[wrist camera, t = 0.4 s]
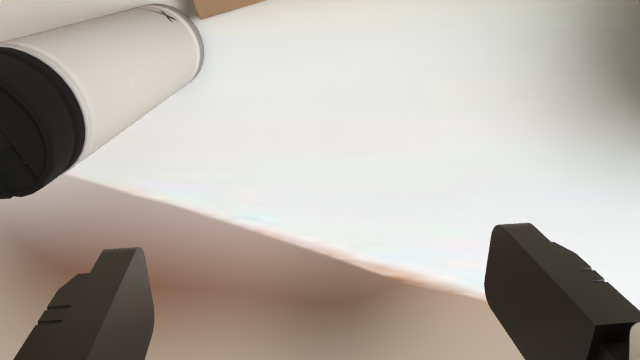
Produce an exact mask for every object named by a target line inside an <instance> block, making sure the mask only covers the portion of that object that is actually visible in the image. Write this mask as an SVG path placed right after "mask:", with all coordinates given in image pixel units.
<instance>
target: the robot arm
mask: <svg viewBox="0 0 640 360" xmlns="http://www.w3.org/2000/svg"><path fill="white" fill-rule="evenodd" d="M484 287H485V295H486V299H487V302H488V304H489V306H490V308H491V310H492V311H493V312H494V314H495V315H496V317H497V319H498V320H499V321H500V323H501V324H502V326H503V327H504V329H505V330H506V332H507V333H508V335H509V336H510V338H511V339H512V340H513V342H514V344H515V345H516V347H517V348H518V350H519V351H520V353H521V354H522V356H523V357H524V358H525V360H640V311H639V310H638V309H637V308H636V307H635V306H634V305H632V304H631V303H630V302H629V301H628V300H627V299H626V298H625V297H624V296H622V295H621V294H620V293H619V292H618V291H617V290H616V289H615V288H614V287H613V286H611V285H610V284H609V283H608V282H605V281H604V278H603V277H601V276H600V275H599V274H598V273H597V272H596V271H595V270H592V269H591V267H590V266H589V265H588V264H587V263H586V262H585V261H584V260H583V259H581V258H580V257H579V256H578V255H577V254H576V253H574V252H572V251H570V250H568V249H566V248H564V247H563V246H561V245H559V244H557V243H555V242H550V241H549V240H548V239H547V238H546V237H545V236H544V235H543V234H542V233H541V232H540V231H539V230H538V229H537V228H536V227H534V226H533V225H532V224H530V223H518V224H503V225H496V226H495V227H494V229H493V231H492V235H491V241H490V247H489V254H488V261H487V268H486V274H485V282H484ZM153 328H154V305H153V300H152V294H151V288H150V283H149V277H148V272H147V266H146V261H145V256H144V252H143V250H142V249H141V248H140V247H133V248H119V249H105V250H103V251H102V253H101V254H100V256H99V258H98V260H97V261H96V263H95V265H94V267H93V268H92V270H91V272H90V273H86V274H78V275H76V276H75V277H74V278H72V279H71V280H70V281H69V282H68V283H66V284H65V285H64V286H62V287H61V288H60V289H59V290H58V291H57V292H56V294H55V296H54V297H53V299H52V300H51V302H50V303H49V305H48V307H47V310H45V311H44V313H43V314H42V316H41V318H40V319H39V321H38V325H35V327H34V328H33V330H32V332H31V333H30V335H29V336H28V338H27V339H26V341H25V342H24V344H23V345H22V347H21V349H20V350H19V352H18V353H17V355H16V357H15V358H14V360H145V356H146V353H147V350H148V347H149V343H150V340H151V337H152V333H153Z"/></svg>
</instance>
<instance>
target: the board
mask: <svg viewBox="0 0 640 360" xmlns="http://www.w3.org/2000/svg"><path fill="white" fill-rule="evenodd" d="M261 1H265V0H193V2H194V5H195V7H196V10H197V13H198V16H199V18H200V20H202V19H205V18H208V17H212V16H215V15H218V14H221V13H225V12H228V11H231V10H235V9H238V8H241V7H245V6H248V5H251V4H255V3H258V2H261Z"/></svg>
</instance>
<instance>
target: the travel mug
mask: <svg viewBox="0 0 640 360" xmlns="http://www.w3.org/2000/svg"><path fill="white" fill-rule="evenodd" d="M203 59H204V46H203V42H202V38H201V36H200V33H199V31H198V29H197V28H196V26H195V25H194V23H193V22H192V21H191V20H190V19H189V18H188V16H186V15H185V14H184V13H182V12H181V11H180V10H178V9H176V8H174V7H171V6H168V5H164V4H151V5H146V6H142V7H138V8H134V9H130V10H126V11H122V12H118V13H114V14H110V15H107V16H103V17H99V18H95V19H91V20H87V21H83V22H79V23H75V24H71V25H67V26H63V27H59V28H56V29H52V30H48V31H44V32H40V33H36V34H32V35H28V36H24V37H20V38H16V39H12V40H9V41H5V42H1V43H0V199H7V198H8V199H9V198H12V197H13V196H17V197H23V196H26V195H30V194H33V193H35V192H36V191H38V190H40V189H41V188H43V187H44V186H46V185H47V184H49V183H50V182H51V181H53V180H54V179H55V178H57V177H58V176H59V175H61V174H63V173H65V172H67V171H68V170H70V169H72V168H73V167H74V166H76V165H77V164H78V163H80V162H81V161H83V160H84V159H85V158H87V157H88V156H89V155H91V154H92V153H94V152H95V151H96V150H98V149H99V148H100V147H102V146H103V145H105V144H106V143H107V142H109V141H110V140H111V139H113V138H114V137H115V136H117V135H118V134H120V133H121V132H122V131H124V130H125V129H126V128H128V127H129V126H131V125H132V124H133V123H135V122H136V121H137V120H139V119H140V118H142V117H143V116H144V115H146V114H147V113H148V112H150V111H151V110H153V109H154V108H155V107H157V106H158V105H159V104H161V103H162V102H164V101H165V100H166V99H168V98H169V97H170V96H172V95H173V94H175V93H176V92H177V91H179V90H180V89H181V88H183V87H184V86H185V85H187V84H188V83H190V82H191V81H192V80H193V79H194V78H195V77H196V76H197V74H198V73H199V71H200V69H201V67H202V64H203Z"/></svg>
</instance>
